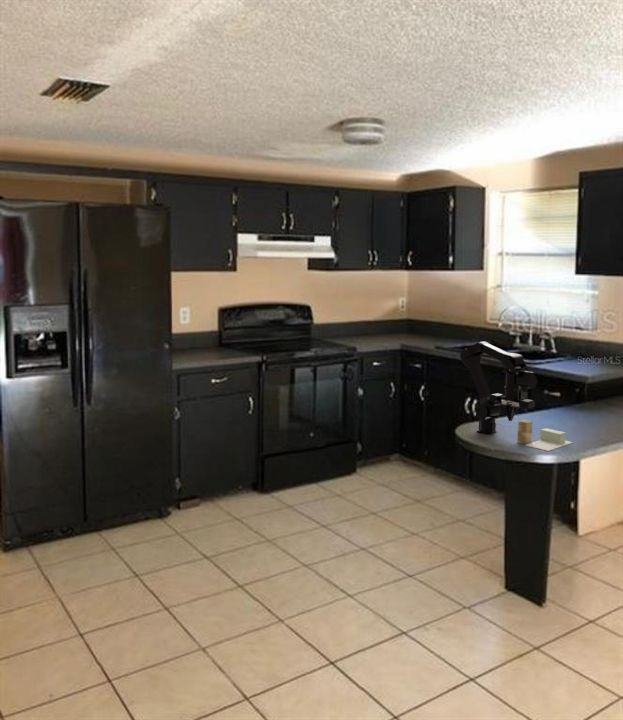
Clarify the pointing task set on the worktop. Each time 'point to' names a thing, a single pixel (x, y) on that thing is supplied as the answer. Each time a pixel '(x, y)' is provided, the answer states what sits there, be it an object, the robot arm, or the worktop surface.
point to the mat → (547, 445)
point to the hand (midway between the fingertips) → (510, 420)
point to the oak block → (524, 431)
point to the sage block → (552, 435)
